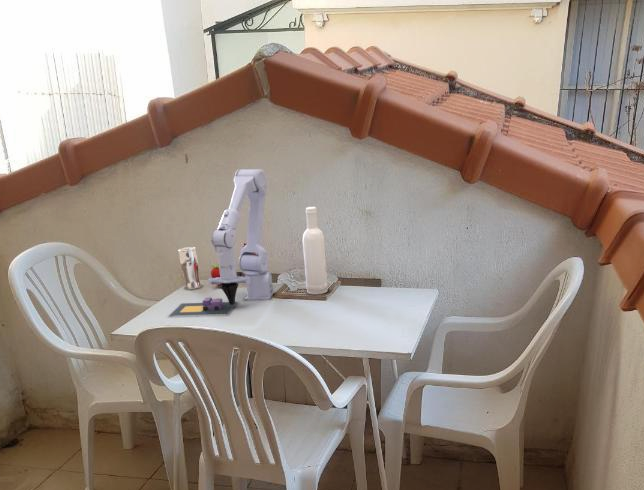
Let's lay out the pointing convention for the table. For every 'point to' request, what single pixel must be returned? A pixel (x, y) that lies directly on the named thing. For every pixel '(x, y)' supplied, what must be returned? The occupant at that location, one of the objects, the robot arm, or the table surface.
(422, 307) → the table surface
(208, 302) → the toy truck
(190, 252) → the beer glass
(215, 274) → the decorative fruit
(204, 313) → the play mat
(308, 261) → the bottle
